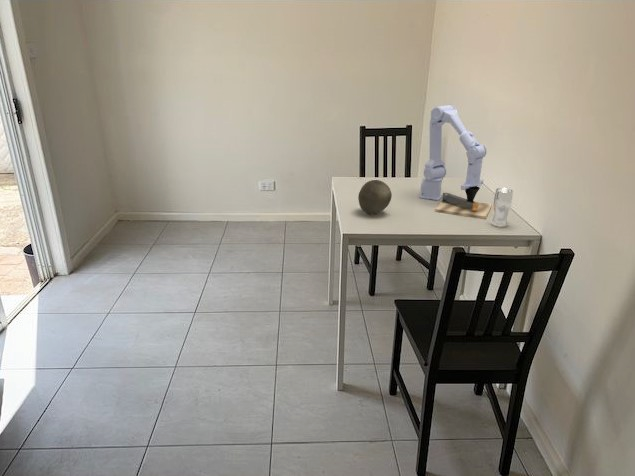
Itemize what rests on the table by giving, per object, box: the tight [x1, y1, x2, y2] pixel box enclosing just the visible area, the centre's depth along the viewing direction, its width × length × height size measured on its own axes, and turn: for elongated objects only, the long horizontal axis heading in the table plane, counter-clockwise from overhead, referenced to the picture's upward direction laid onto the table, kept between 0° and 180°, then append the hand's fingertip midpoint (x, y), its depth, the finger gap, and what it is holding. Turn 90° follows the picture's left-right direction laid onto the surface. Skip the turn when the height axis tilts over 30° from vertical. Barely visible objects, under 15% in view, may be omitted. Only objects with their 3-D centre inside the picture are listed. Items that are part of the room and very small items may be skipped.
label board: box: [434, 199, 493, 220], centre depth 215 cm, size 22×18×2 cm
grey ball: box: [357, 179, 393, 215], centre depth 208 cm, size 14×14×15 cm
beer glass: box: [491, 187, 514, 228], centre depth 195 cm, size 7×7×15 cm
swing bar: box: [441, 192, 480, 210], centre depth 214 cm, size 19×3×3 cm, turn 36°
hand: (469, 202), depth 212 cm, fingers closed
